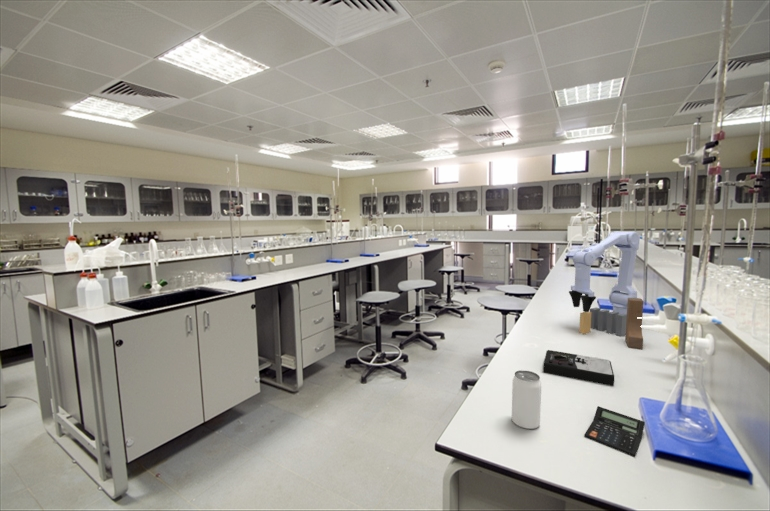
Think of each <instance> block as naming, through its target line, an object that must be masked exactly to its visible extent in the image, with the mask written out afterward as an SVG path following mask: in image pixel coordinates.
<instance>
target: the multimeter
mask: <svg viewBox="0 0 770 511" xmlns="http://www.w3.org/2000/svg"><path fill="white" fill-rule="evenodd" d="M612 365H613V364H612V361H611V360H609V359H606V358H605V359H604V358H601V357H593V356H588V355H582V354H575V353H569V352H563V351H557V350H550V349H548V350H546V352H545V355H544V361H543V365H542V371H543V373H544V374H545V373H546V374H550V375H555V376H560V377H564V378H570V379H575V380H580V381H585V382H590V383H595V384H599V385H606V386H609V387H614V385H615V374H614V370H613V366H612Z"/></svg>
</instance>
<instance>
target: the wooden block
mask: <svg viewBox="0 0 770 511" xmlns="http://www.w3.org/2000/svg"><path fill="white" fill-rule="evenodd" d="M643 313H644V300H643V299H642V298H640V297H637V298H628V304H627V320H626V335H625V336H624V337H625V338H624V339H625V343H626V344H627V347H628V348H630V349H631V348H633V349H638V350H643V346H644V336H643V327H642V328H641V327H640V326H641V325H642V326H643V317H644V316H643ZM637 317H642V319H637Z"/></svg>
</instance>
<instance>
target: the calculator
mask: <svg viewBox="0 0 770 511" xmlns="http://www.w3.org/2000/svg"><path fill="white" fill-rule="evenodd" d="M645 423H646V422H645V421H643V420H640V419H637V418H634V417H632V416H628V415H625V414H623V413H620V412H616V411H614V410H610V409H607V408H605V407H601V406H599V405H597V407H596V409H595V413H594V416H593V420H592V422H591V423H590V425H589V426H588V428H587V430H586V431H585V433H584V435H583V437H584V438H587V439H589V440H592V441H594V442H597V443H599V444H601V445H603V446H606V447H608V448H611V449H614V450H616V451H618V452H621V453H624V454H625V455H629V456H631V457H634V458H636V455H637V453H638V450H639V447H640V444H641V442H642V438H643V435H644V429H645Z"/></svg>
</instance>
